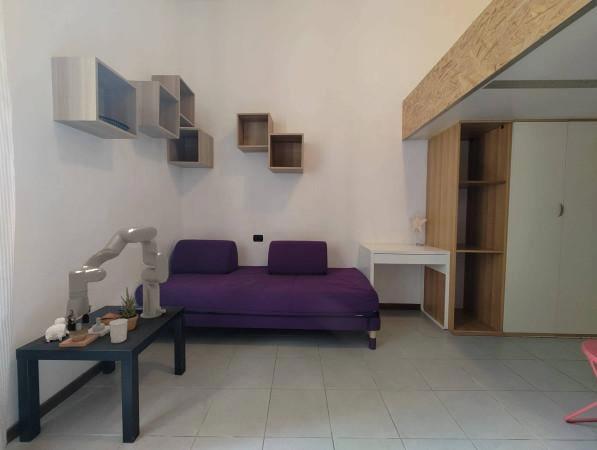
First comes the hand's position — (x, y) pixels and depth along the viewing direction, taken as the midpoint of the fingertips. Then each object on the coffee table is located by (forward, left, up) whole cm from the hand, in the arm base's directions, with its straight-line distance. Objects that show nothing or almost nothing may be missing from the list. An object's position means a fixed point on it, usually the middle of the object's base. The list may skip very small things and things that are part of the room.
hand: (78, 327), depth 141 cm
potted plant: (-16, -16, -8) cm, 24 cm away
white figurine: (+16, -7, -8) cm, 19 cm away
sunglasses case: (+2, -28, -8) cm, 30 cm away
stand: (-2, -12, -8) cm, 14 cm away
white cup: (-19, -1, -8) cm, 21 cm away
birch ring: (0, 0, -4) cm, 4 cm away
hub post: (0, 0, -8) cm, 8 cm away
